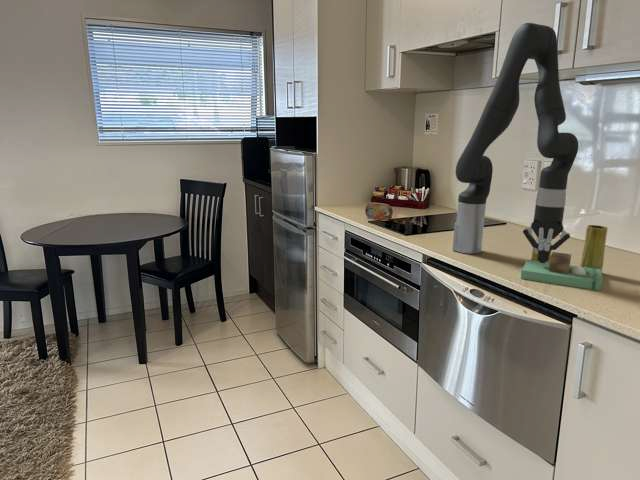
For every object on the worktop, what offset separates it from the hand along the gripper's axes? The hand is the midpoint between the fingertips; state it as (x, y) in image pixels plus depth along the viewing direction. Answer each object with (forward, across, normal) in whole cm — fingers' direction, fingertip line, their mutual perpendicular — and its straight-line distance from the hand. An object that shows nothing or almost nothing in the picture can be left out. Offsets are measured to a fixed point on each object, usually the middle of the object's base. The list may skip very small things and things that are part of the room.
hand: (542, 262), depth 138 cm
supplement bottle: (+4, +1, -12) cm, 13 cm away
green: (+4, -5, 0) cm, 7 cm away
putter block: (+1, -5, 0) cm, 5 cm away
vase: (+4, -13, -11) cm, 17 cm away
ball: (+2, -10, 0) cm, 10 cm away
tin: (+5, +74, -55) cm, 92 cm away
